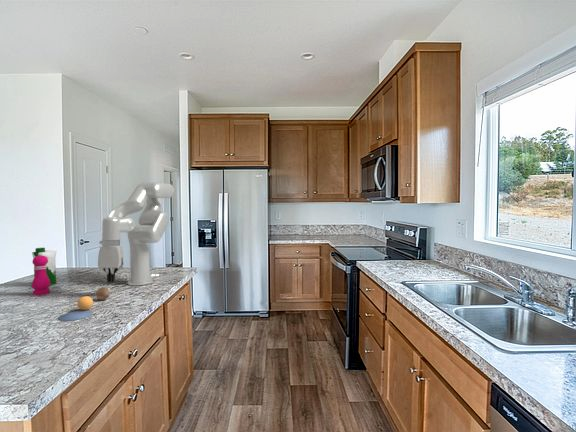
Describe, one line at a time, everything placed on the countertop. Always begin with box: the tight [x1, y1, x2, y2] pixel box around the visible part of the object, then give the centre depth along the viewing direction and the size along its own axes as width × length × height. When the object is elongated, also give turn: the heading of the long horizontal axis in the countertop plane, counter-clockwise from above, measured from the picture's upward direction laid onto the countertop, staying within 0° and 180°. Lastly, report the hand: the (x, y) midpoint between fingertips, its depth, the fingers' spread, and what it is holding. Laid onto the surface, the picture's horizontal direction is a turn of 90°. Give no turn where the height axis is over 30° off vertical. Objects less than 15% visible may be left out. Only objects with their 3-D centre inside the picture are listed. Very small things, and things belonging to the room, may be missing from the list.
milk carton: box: [31, 247, 57, 286], centre depth 173 cm, size 9×9×20 cm
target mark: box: [57, 310, 93, 322], centre depth 125 cm, size 11×11×1 cm
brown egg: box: [95, 287, 111, 301], centre depth 146 cm, size 6×6×6 cm
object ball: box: [76, 295, 94, 311], centre depth 132 cm, size 6×6×6 cm
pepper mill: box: [31, 252, 51, 296], centre depth 156 cm, size 7×7×20 cm
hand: (111, 281), depth 154 cm, fingers closed
